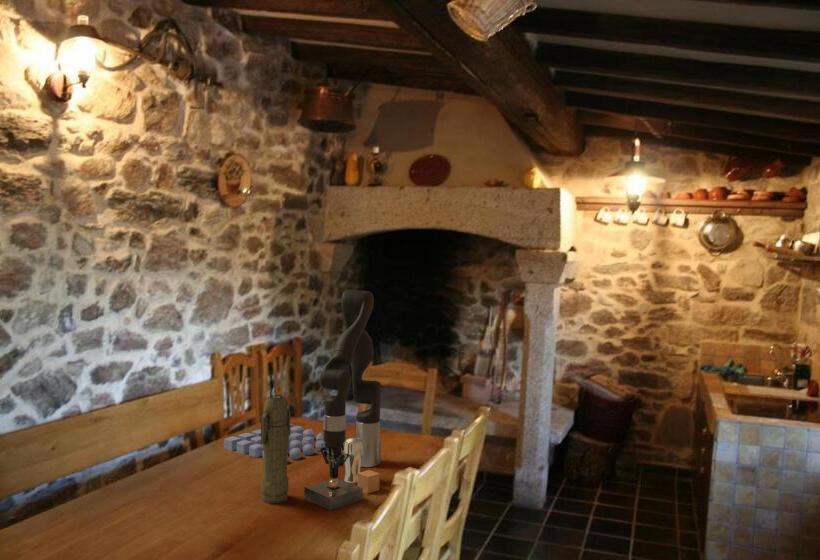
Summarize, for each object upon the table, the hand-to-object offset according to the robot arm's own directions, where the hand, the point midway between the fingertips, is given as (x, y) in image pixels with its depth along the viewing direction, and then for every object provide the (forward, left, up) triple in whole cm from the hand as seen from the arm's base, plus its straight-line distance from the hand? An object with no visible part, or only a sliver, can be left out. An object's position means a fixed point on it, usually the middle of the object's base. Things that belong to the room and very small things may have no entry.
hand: (333, 477), depth 237 cm
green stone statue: (+14, -14, -8) cm, 21 cm away
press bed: (0, 0, -8) cm, 7 cm away
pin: (0, 0, -4) cm, 4 cm away
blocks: (-22, -61, -8) cm, 65 cm away
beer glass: (-17, -10, -8) cm, 21 cm away
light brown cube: (-15, +1, -8) cm, 17 cm away
